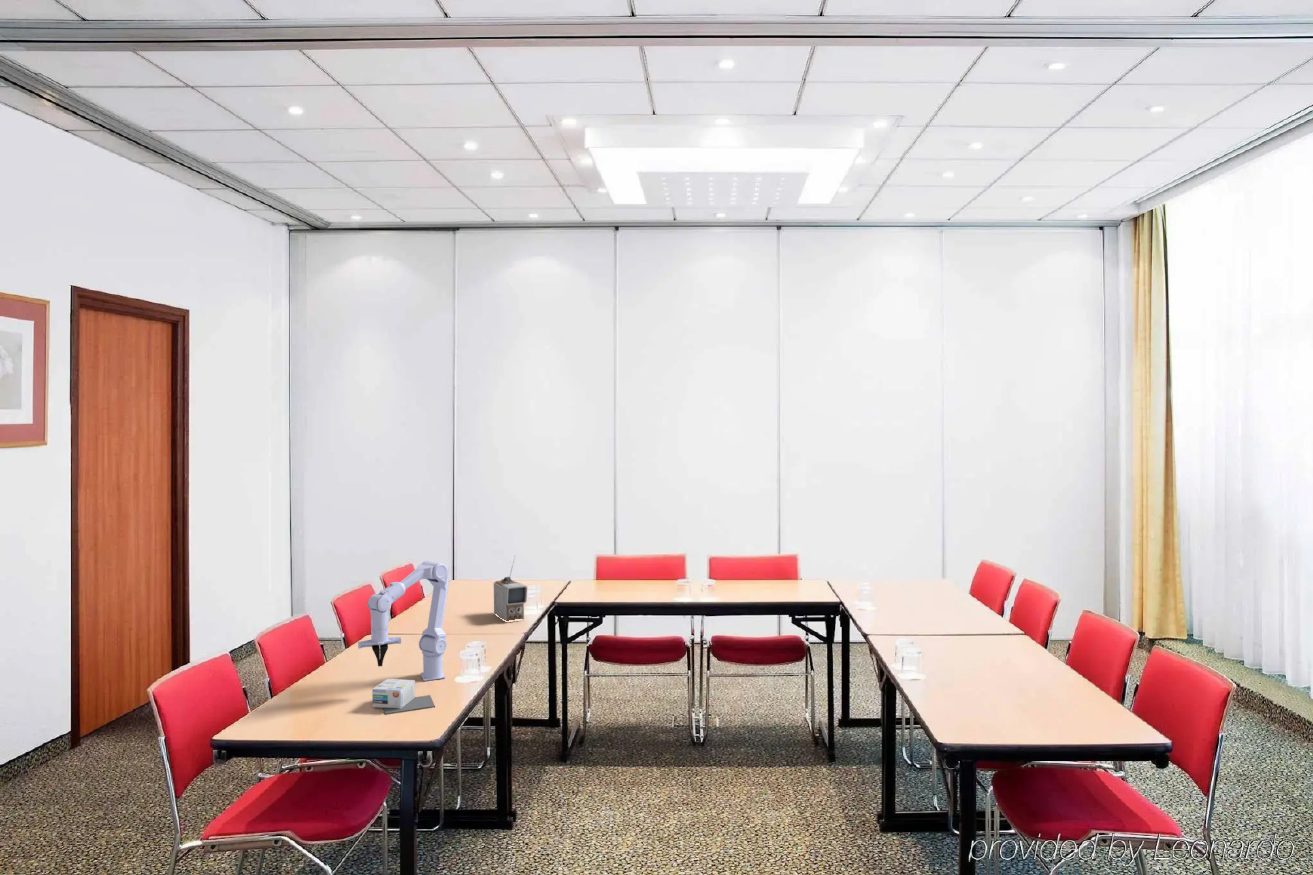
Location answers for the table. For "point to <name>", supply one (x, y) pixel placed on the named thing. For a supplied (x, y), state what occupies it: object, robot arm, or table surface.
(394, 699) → the light bulb box
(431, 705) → the mat
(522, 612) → the portable television
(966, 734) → the table surface
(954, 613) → the table surface
